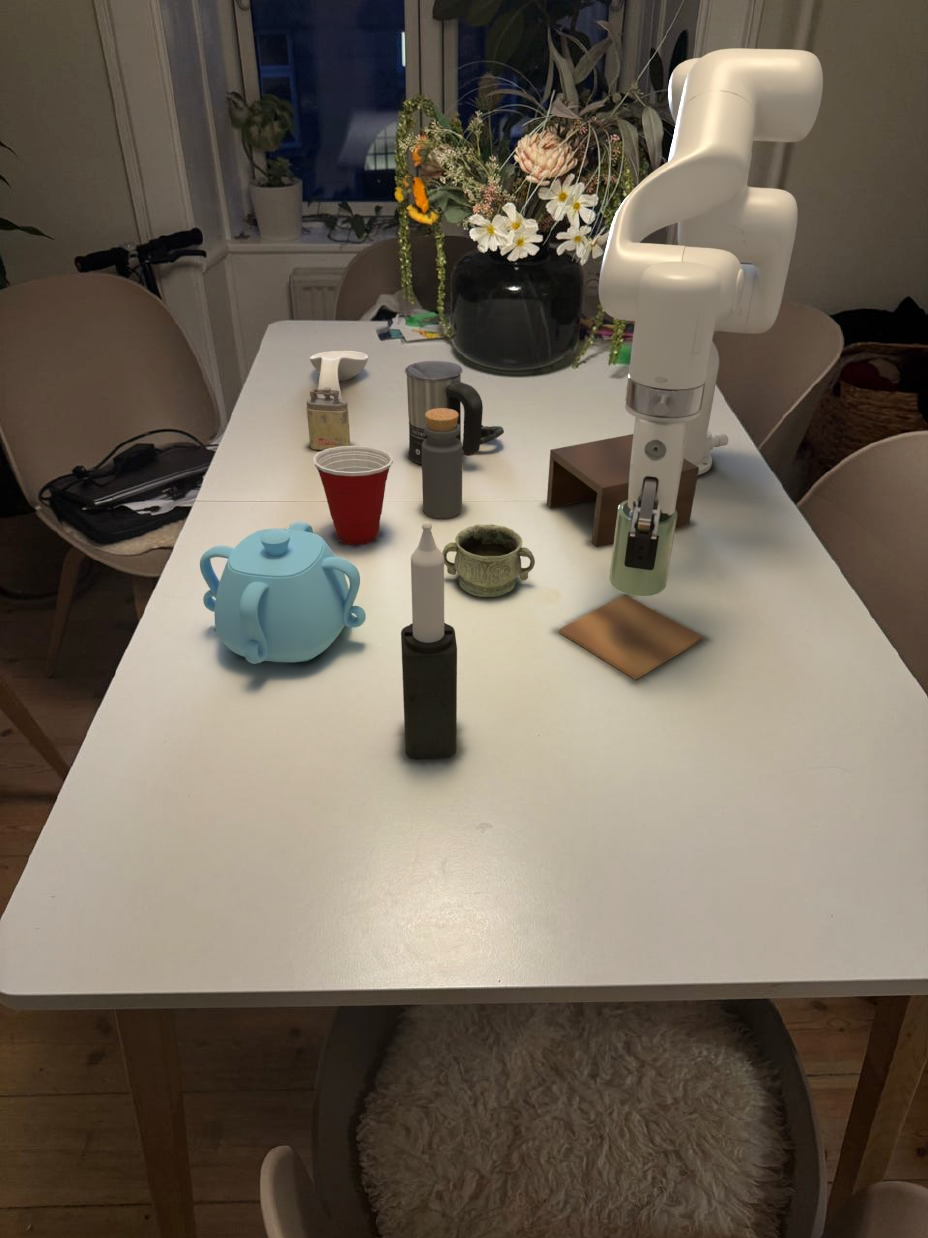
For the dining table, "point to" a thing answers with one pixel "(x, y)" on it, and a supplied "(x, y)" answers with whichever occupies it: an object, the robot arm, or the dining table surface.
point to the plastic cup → (354, 489)
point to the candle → (429, 659)
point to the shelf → (606, 482)
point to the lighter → (327, 420)
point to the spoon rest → (337, 368)
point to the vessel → (488, 559)
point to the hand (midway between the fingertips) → (642, 550)
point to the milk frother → (444, 405)
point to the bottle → (442, 464)
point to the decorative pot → (281, 595)
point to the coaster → (630, 636)
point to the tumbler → (634, 578)
